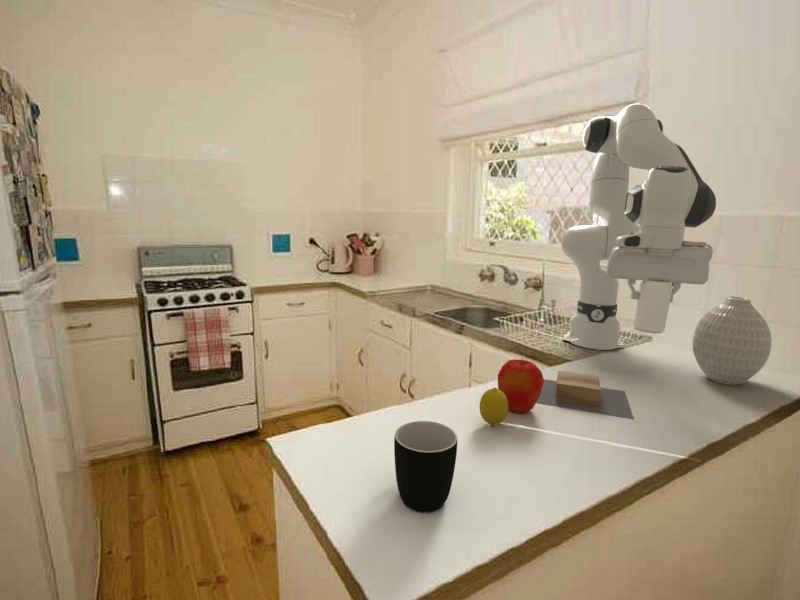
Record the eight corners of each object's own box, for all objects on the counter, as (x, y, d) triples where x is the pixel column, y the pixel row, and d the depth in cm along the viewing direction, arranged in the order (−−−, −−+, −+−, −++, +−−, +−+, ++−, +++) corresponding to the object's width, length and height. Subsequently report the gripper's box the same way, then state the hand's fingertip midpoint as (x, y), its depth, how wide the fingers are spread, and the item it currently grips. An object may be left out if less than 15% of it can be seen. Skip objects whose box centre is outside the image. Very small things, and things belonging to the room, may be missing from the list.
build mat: (530, 378, 112) (530, 377, 112) (624, 392, 105) (624, 391, 105) (524, 402, 98) (524, 400, 98) (633, 421, 90) (634, 419, 90)
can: (670, 334, 99) (680, 282, 96) (641, 332, 99) (650, 280, 96) (654, 326, 105) (663, 277, 102) (627, 325, 105) (635, 276, 102)
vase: (745, 397, 104) (762, 306, 100) (675, 375, 118) (688, 294, 114) (774, 385, 113) (791, 301, 108) (705, 366, 126) (718, 290, 122)
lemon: (475, 428, 85) (478, 390, 84) (481, 417, 90) (483, 380, 89) (504, 434, 83) (507, 395, 82) (508, 422, 88) (511, 385, 87)
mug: (466, 508, 62) (470, 443, 60) (410, 527, 58) (413, 458, 56) (423, 465, 72) (426, 408, 70) (374, 478, 68) (375, 418, 66)
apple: (487, 409, 94) (491, 356, 91) (510, 398, 100) (515, 348, 97) (525, 425, 87) (530, 368, 85) (548, 412, 93) (553, 359, 91)
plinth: (556, 385, 107) (558, 370, 106) (596, 392, 104) (598, 376, 103) (555, 399, 99) (557, 383, 98) (598, 407, 96) (601, 390, 95)
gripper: (709, 241, 97) (699, 302, 100) (609, 237, 104) (602, 294, 107) (719, 243, 91) (707, 307, 94) (611, 238, 98) (604, 298, 101)
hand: (650, 300), depth 100 cm, fingers closed on can, 5 cm apart
